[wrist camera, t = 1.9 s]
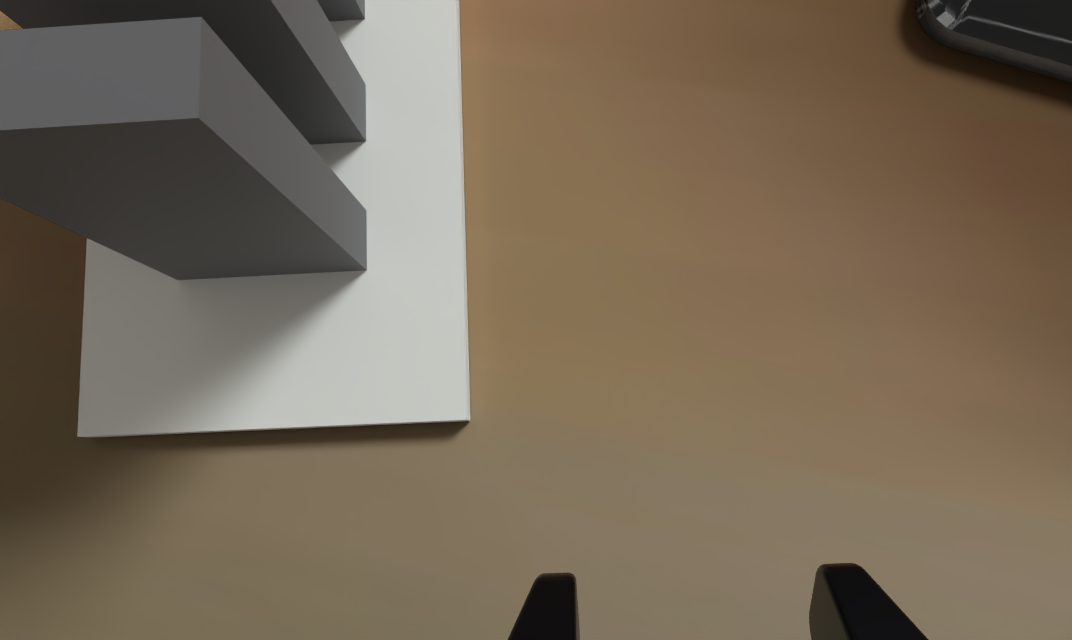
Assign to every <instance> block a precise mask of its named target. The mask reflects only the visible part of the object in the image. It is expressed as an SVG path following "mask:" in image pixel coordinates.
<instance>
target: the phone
mask: <svg viewBox="0 0 1072 640" xmlns="http://www.w3.org/2000/svg"><path fill="white" fill-rule="evenodd" d="M916 13H917V17H918V21H919V23H920V25H921V26H922V28H923V30H924V31H925V33H926V34H928V35H929V36H930V37H931V38H932V39H933V40H934V41H936V42H938V43H940V44H942V45H944V46H947V47H949V48H953V49H956V50H959V51H963V52H966V53H970V54H973V55H977V56H980V57H983V58H987V59H990V60H994V61H997V62H1001V63H1004V64H1007V65H1011V66H1014V67H1018V68H1021V69H1025V70H1028V71H1031V72H1035V73H1038V74H1042V75H1045V76H1049V77H1052V78H1055V79H1059V80H1062V81H1066V82H1069V83H1072V0H917V3H916Z"/></svg>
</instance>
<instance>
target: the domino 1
mask: <svg viewBox="0 0 1072 640" xmlns="http://www.w3.org/2000/svg"><path fill="white" fill-rule="evenodd" d="M0 11H2V12H3V13H4V14H5V15H7V16H8V17H9V18H10V19H12V20H13V21H14V22H16V23H17V24H18V25H19V26H21V27H22V28H23V29H31V28H45V27H60V26H75V25H90V24H104V23H119V22H134V21H148V20H163V19H178V18H193V17H202V18H203V19H204V20H205V22H206V23H207V24H208V25H209V26H210V27H211V29H212V30H213V31H214V32H215V33H216V35H217V36H218V37H219V38H220V39H221V40H222V42H223V43H224V44H225V45H226V46H227V47H228V49H229V50H230V51H231V52H232V53H233V54H234V56H235V57H236V58H237V59H238V60H239V62H240V63H241V64H242V65H243V66H244V67H245V69H246V70H247V71H248V72H249V73H250V74H251V76H252V77H253V78H254V79H255V80H256V81H257V83H258V84H259V85H260V86H261V87H262V89H263V90H264V91H265V92H266V93H267V94H268V96H269V97H270V98H271V99H272V100H273V101H274V103H275V104H276V105H277V106H278V107H279V108H280V110H281V111H282V112H283V113H284V114H285V116H286V117H287V118H288V119H289V120H290V121H291V123H292V124H293V125H294V126H295V127H296V128H297V130H298V131H299V132H300V133H301V134H302V135H303V137H304V138H305V139H306V140H307V141H308V142H309V144H310V145H314V144H331V143H348V142H364V141H366V84H365V83H364V81H363V79H362V77H361V76H360V74H359V72H358V70H357V69H356V67H355V65H354V64H353V62H352V60H351V58H350V57H349V55H348V53H347V51H346V50H345V48H344V46H343V44H342V43H341V41H340V39H339V37H338V36H337V34H336V32H335V31H334V29H333V27H332V25H331V24H330V22H329V20H328V18H327V17H326V15H325V13H324V11H323V10H322V8H321V6H320V5H319V3H318V1H317V0H0Z"/></svg>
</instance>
